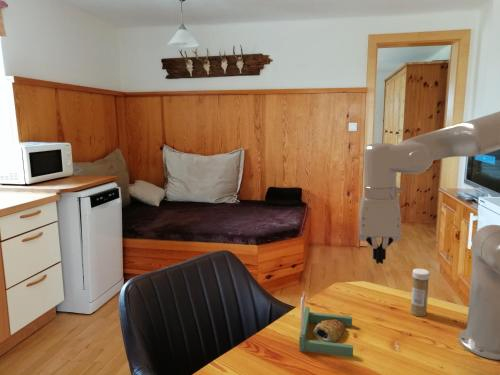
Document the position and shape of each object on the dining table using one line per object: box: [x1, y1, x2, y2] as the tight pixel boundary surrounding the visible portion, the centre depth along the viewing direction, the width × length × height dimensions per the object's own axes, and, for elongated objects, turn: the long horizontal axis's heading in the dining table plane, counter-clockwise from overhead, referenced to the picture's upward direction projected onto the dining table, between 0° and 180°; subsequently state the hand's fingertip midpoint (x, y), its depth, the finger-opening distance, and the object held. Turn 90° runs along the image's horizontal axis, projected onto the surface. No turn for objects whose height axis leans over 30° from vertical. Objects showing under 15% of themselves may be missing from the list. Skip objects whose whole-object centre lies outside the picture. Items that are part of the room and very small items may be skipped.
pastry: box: [312, 320, 345, 343], centre depth 106 cm, size 9×7×4 cm
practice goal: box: [298, 291, 354, 358], centre depth 104 cm, size 13×16×14 cm
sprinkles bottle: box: [410, 268, 430, 317], centre depth 115 cm, size 5×5×14 cm
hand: (379, 261), depth 101 cm, fingers closed
